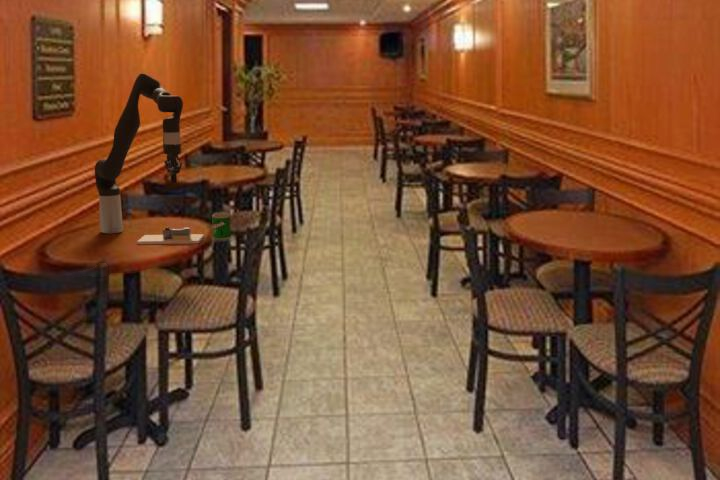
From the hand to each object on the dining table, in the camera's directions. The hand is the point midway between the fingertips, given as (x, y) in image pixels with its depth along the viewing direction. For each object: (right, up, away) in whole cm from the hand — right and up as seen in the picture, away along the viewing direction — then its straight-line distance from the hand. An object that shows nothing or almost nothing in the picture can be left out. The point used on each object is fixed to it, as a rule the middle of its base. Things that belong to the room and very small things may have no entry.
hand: (173, 182), depth 332 cm
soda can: (+21, -25, -1) cm, 33 cm away
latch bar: (+2, -24, -3) cm, 24 cm away
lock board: (-1, -25, -1) cm, 25 cm away
